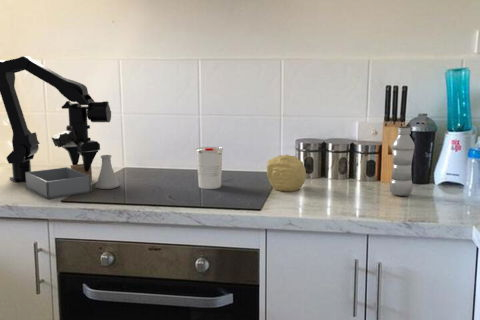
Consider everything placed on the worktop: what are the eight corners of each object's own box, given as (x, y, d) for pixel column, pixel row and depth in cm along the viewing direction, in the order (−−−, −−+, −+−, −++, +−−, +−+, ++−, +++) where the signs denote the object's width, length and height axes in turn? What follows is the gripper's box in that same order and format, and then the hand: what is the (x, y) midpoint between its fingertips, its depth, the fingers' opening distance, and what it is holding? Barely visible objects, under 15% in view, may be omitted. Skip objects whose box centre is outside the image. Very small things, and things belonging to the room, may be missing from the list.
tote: (26, 188, 164) (25, 172, 163) (67, 182, 172) (66, 167, 172) (47, 199, 150) (46, 182, 150) (91, 192, 159) (90, 175, 158)
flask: (113, 190, 162) (111, 158, 160) (91, 189, 163) (89, 157, 161) (123, 185, 169) (121, 154, 167) (102, 184, 170) (100, 153, 168)
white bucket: (189, 186, 166) (188, 148, 164) (207, 182, 173) (207, 145, 171) (212, 191, 160) (211, 152, 158) (230, 186, 166) (230, 148, 164)
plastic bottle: (413, 193, 157) (417, 126, 153) (410, 199, 151) (414, 129, 147) (391, 191, 159) (394, 125, 156) (387, 196, 153) (390, 128, 150)
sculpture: (262, 191, 159) (262, 156, 158) (275, 183, 170) (275, 150, 168) (299, 195, 155) (299, 159, 153) (309, 186, 166) (310, 152, 164)
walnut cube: (71, 180, 176) (70, 165, 175) (85, 178, 179) (84, 163, 178) (77, 182, 172) (76, 167, 172) (92, 180, 176) (91, 165, 175)
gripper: (43, 121, 174) (46, 168, 177) (65, 126, 160) (68, 177, 163) (75, 119, 181) (78, 164, 184) (99, 124, 167) (101, 172, 170)
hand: (80, 169), depth 175 cm, fingers open, 9 cm apart
